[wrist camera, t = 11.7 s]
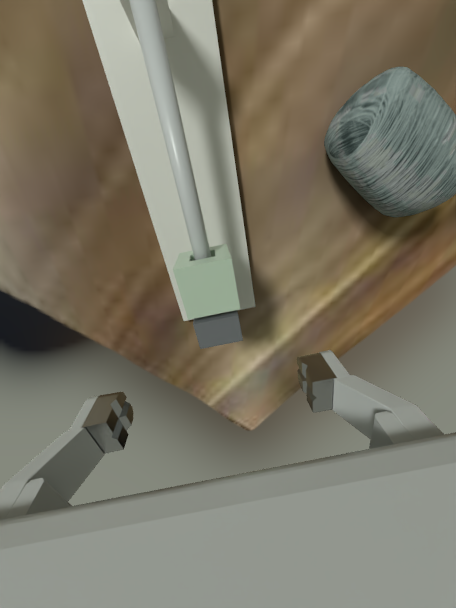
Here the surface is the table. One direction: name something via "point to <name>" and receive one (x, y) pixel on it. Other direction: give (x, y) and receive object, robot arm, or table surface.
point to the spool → (396, 144)
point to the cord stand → (178, 134)
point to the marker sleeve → (207, 283)
